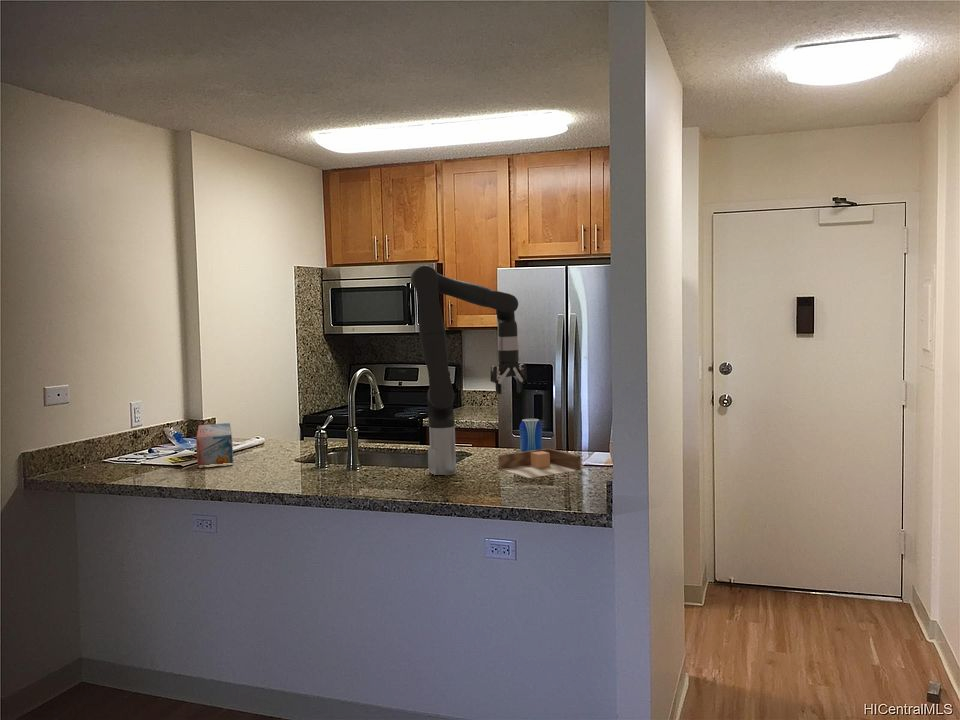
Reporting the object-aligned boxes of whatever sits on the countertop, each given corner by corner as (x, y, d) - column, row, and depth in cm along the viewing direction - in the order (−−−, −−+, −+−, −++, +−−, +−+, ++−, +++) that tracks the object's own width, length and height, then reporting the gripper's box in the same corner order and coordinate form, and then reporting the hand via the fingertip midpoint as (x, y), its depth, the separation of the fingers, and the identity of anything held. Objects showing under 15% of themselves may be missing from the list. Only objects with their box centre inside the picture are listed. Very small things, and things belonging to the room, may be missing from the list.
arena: (528, 480, 275) (528, 463, 275) (498, 471, 293) (498, 454, 292) (580, 472, 286) (580, 455, 285) (548, 463, 303) (548, 448, 303)
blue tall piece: (542, 462, 306) (541, 421, 305) (520, 463, 306) (519, 421, 305) (541, 458, 314) (540, 418, 313) (520, 459, 314) (519, 418, 313)
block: (538, 468, 290) (538, 454, 290) (531, 466, 295) (530, 452, 294) (550, 466, 293) (549, 452, 292) (542, 464, 297) (542, 451, 297)
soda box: (234, 466, 318) (232, 434, 317) (197, 470, 314) (195, 437, 313) (232, 450, 357) (230, 421, 356) (199, 453, 353) (197, 423, 352)
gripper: (496, 350, 287) (497, 395, 288) (530, 348, 294) (531, 392, 295) (486, 349, 293) (487, 393, 294) (519, 347, 300) (520, 390, 301)
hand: (509, 393), depth 295 cm, fingers open, 8 cm apart
